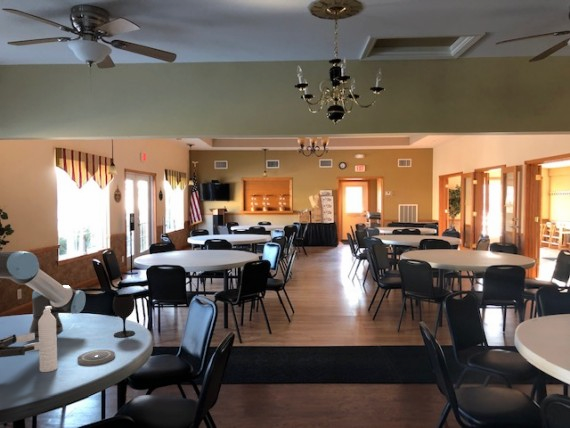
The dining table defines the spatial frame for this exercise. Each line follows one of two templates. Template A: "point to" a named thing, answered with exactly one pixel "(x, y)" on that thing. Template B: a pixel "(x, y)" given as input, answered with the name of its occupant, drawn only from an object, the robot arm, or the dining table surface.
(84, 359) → the slate coaster
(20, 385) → the dining table surface
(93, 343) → the dining table surface
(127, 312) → the wine glass
